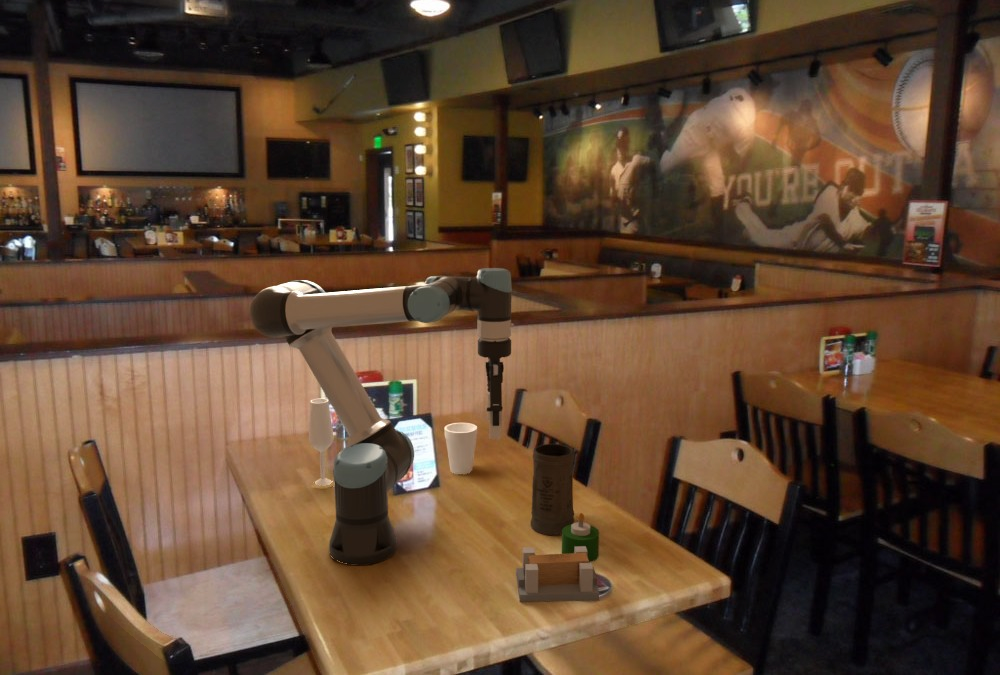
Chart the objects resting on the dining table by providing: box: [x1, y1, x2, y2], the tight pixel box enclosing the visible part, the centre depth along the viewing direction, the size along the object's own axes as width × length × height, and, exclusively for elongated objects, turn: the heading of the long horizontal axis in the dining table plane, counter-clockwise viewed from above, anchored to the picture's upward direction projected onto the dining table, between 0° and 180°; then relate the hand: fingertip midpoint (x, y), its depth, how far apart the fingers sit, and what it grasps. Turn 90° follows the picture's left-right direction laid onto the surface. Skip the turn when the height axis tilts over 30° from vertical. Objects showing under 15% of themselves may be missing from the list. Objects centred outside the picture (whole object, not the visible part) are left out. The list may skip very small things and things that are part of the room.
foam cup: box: [444, 422, 478, 475], centre depth 222 cm, size 10×9×13 cm
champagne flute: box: [308, 397, 335, 486], centre depth 211 cm, size 7×7×24 cm
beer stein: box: [530, 443, 576, 536], centre depth 188 cm, size 15×11×20 cm
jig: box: [515, 546, 600, 603], centre depth 159 cm, size 16×11×6 cm
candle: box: [561, 512, 600, 563], centre depth 173 cm, size 8×8×10 cm
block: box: [528, 553, 590, 586], centre depth 159 cm, size 12×4×5 cm, turn 96°
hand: (494, 429), depth 176 cm, fingers open, 13 cm apart
